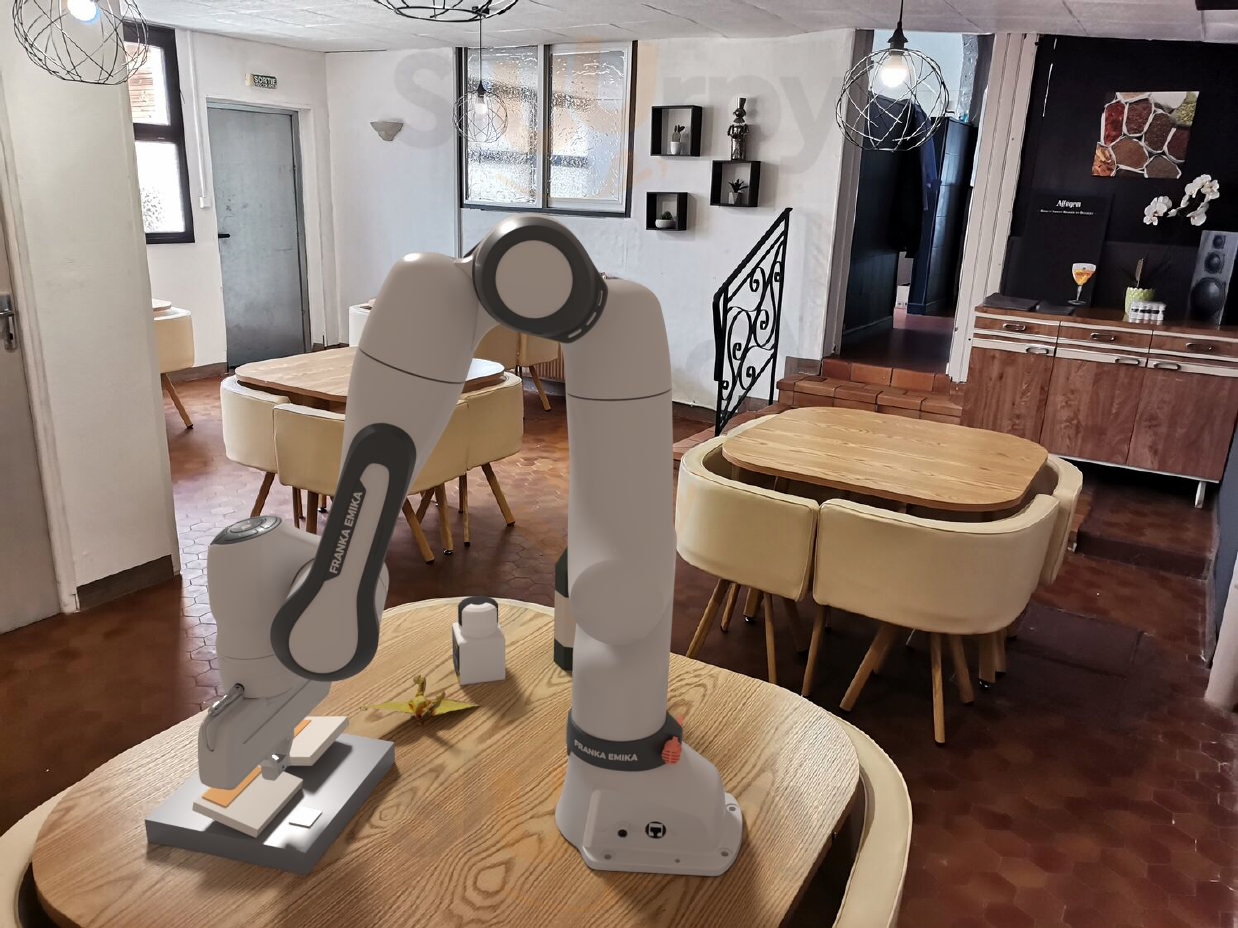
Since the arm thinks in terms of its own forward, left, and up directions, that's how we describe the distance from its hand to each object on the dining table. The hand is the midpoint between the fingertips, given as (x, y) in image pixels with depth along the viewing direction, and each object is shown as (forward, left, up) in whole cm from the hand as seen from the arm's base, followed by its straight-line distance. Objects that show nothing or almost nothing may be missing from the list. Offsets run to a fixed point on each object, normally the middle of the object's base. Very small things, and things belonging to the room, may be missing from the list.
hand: (276, 772), depth 102 cm
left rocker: (+4, 0, -4) cm, 5 cm away
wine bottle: (-22, -48, -9) cm, 54 cm away
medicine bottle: (-8, -40, -9) cm, 42 cm away
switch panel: (+4, -5, -8) cm, 11 cm away
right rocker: (+4, -11, -4) cm, 12 cm away
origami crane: (-5, -26, -9) cm, 28 cm away
